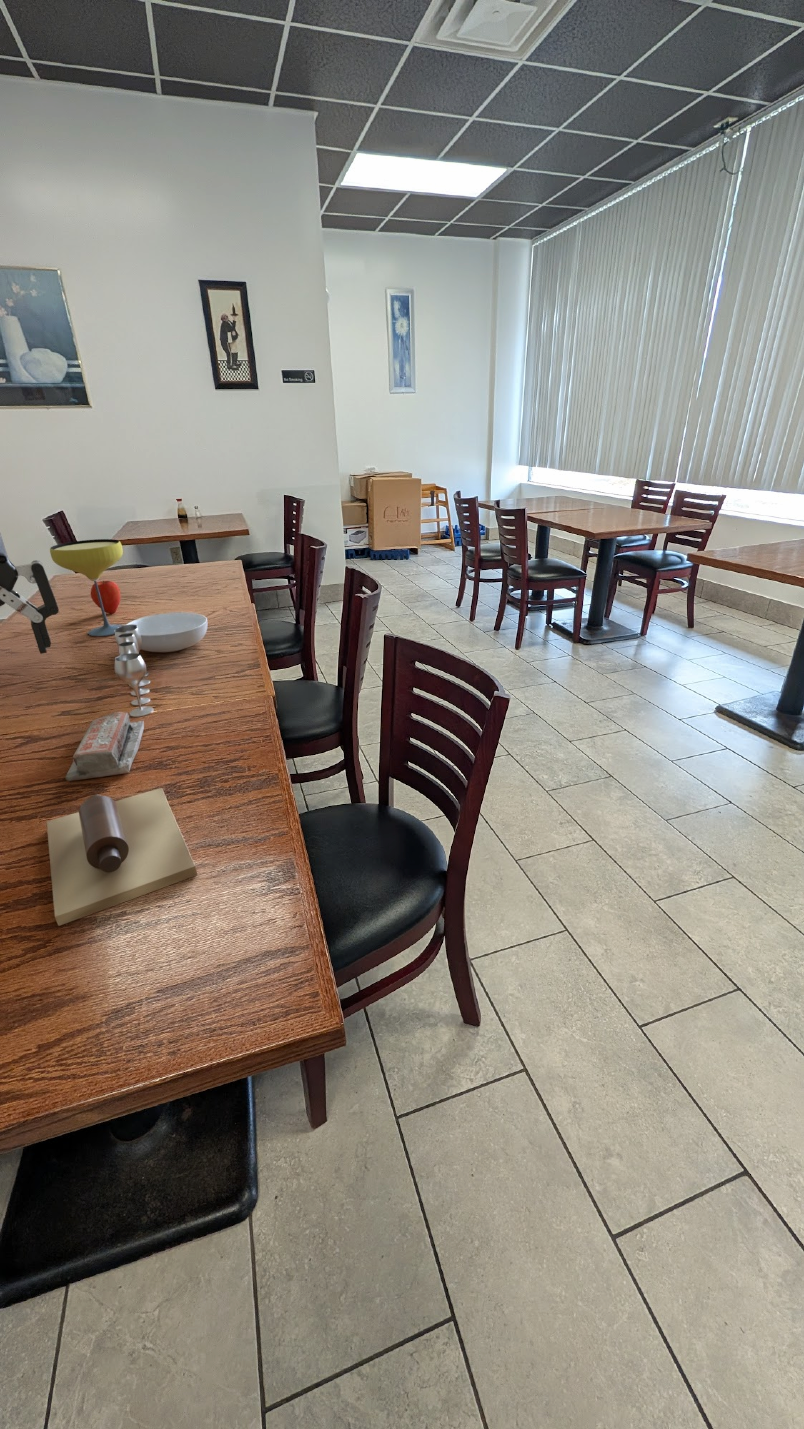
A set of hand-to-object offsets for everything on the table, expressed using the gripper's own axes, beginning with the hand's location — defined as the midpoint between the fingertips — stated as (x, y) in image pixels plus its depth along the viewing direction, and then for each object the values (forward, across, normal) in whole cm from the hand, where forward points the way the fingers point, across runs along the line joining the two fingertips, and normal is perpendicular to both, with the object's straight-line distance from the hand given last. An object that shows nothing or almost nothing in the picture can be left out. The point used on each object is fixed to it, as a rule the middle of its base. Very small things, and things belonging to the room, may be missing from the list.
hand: (2, 659), depth 68 cm
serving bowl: (+28, -30, -82) cm, 92 cm away
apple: (+28, -21, -130) cm, 134 cm away
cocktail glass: (+28, -18, -109) cm, 114 cm away
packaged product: (+28, -8, -27) cm, 40 cm away
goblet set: (+28, -18, -54) cm, 63 cm away
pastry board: (+28, -6, +4) cm, 29 cm away
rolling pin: (+26, -6, +4) cm, 27 cm away
